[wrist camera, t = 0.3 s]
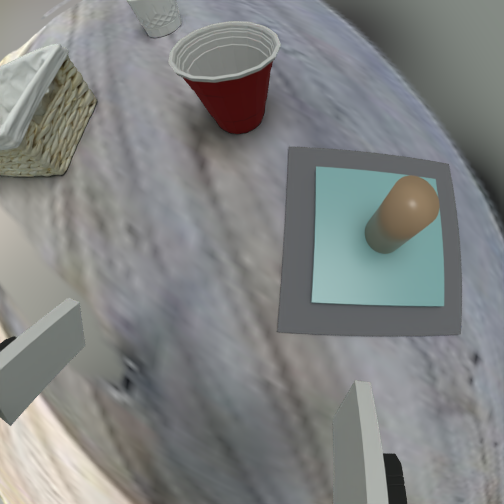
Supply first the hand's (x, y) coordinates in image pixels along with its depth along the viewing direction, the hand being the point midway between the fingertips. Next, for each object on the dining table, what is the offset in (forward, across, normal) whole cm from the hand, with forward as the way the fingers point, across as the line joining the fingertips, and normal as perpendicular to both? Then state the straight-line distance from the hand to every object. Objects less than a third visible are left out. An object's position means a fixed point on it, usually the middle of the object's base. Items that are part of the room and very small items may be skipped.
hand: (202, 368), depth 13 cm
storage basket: (+28, +41, -6) cm, 50 cm away
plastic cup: (+28, +6, -12) cm, 32 cm away
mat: (+20, -12, -3) cm, 24 cm away
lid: (+20, -12, -3) cm, 24 cm away
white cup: (+41, +27, -29) cm, 57 cm away
